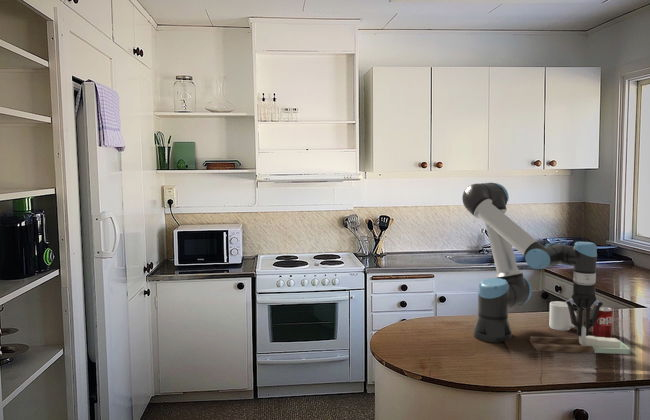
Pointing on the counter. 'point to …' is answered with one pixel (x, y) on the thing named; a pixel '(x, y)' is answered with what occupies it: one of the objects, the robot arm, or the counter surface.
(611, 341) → the cream cube
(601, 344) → the white cube
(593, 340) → the pale grey cube
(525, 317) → the counter surface
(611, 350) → the tray
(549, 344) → the slot board
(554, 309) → the mug
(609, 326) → the soda can
